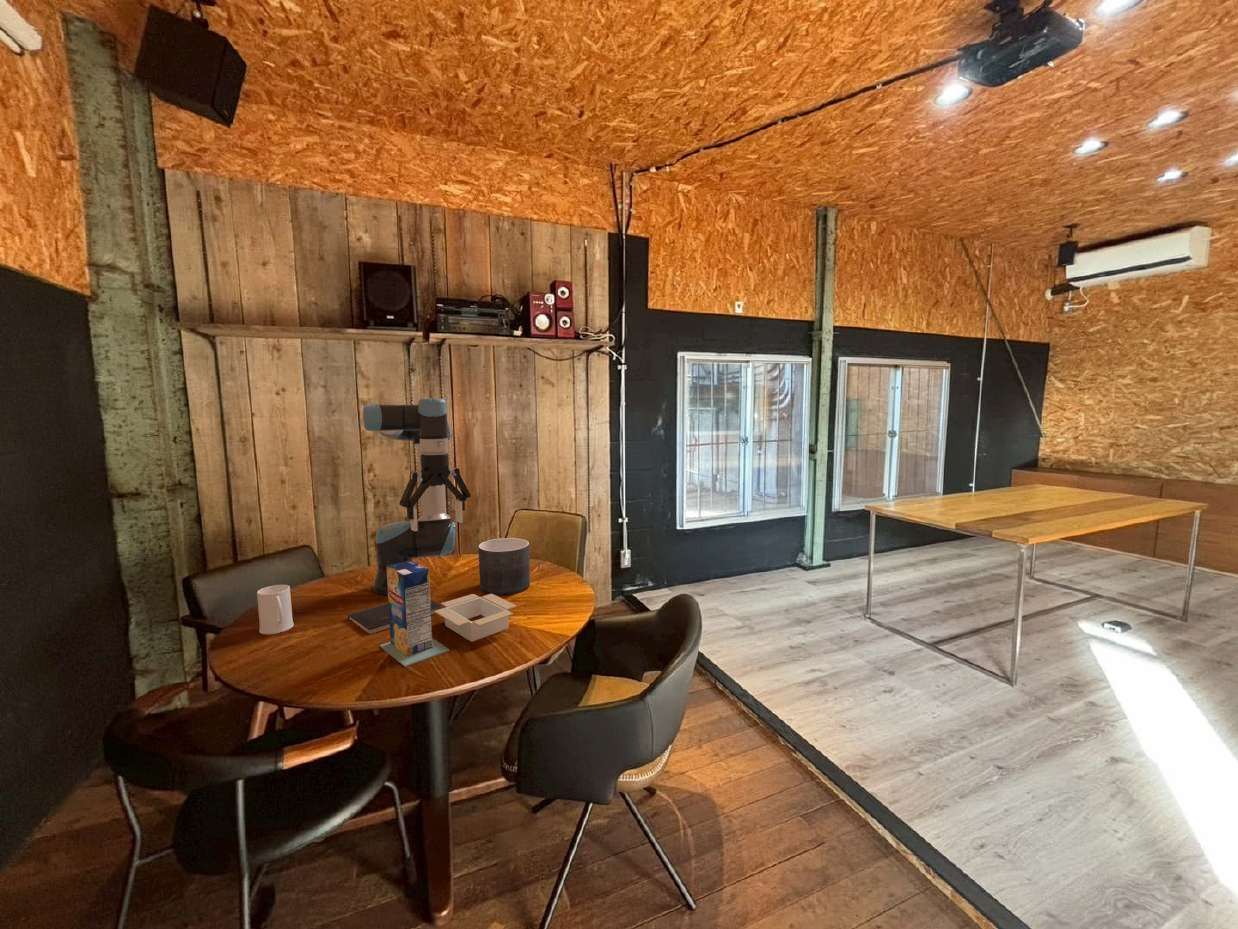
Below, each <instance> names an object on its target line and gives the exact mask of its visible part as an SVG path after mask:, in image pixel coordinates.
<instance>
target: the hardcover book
mask: <svg viewBox="0 0 1238 929" xmlns="http://www.w3.org/2000/svg"><path fill="white" fill-rule="evenodd" d="M430 601H431V616H432V615H434V614H435V615H436V613H435V612H434V611H436V610H439V609H442V608H444V606H443V605H441V603H438V602H436V601H434V600H432V599H430ZM347 617H348V618H347V620H348V619H349V620H350V621H351V620H352V621H353V622H352V621H351V622H352V623H354V624H355V625H356V626H358V627H359V626H360V627H359V628H361V629H362V630H363V631H365V632H366V633H367V634H368V635H372V634H375V633H378V632H382V631H384V630H387V629H390V621H389V602H388V603H384V604H380V605H377V606H374V607H370V608H367V609H363V610H360V611H357V612H353V613H350V614H348V615H347Z"/></svg>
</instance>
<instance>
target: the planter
mask: <svg viewBox="0 0 1238 929" xmlns="http://www.w3.org/2000/svg"><path fill="white" fill-rule="evenodd" d="M478 565H479V568H478V570H479V590H480V591H481V592H482V593H484V594H486V595H489V594H493V595H496V596H508V595H514V594H518V593H521V592H523V591H525V590H527V589H528V588H530V585H531V582H530V574H531V573H530V571H531V570H530V542H529V541H528V540H526V539H522V538H516V537H502V538H494V539H489V540H486V541H483V542H481V543H479V545H478Z"/></svg>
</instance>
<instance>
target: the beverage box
mask: <svg viewBox="0 0 1238 929" xmlns="http://www.w3.org/2000/svg"><path fill="white" fill-rule="evenodd" d="M430 580H431V579H430V568H428V567H426V566H424V565H423V564H419V563H418V562H415V561H414V560H413V561H406V562H402V563H397V564H393V565H388V566H387V584H388V595H387V598H388V600H387V602H388V603H389V621H390V628H389V634H390V635H389V636H390V642H391V644H393V645H394V646H395V647H396V648H398V649H399V650H400V651H401V652H403V653H404V654H405V655H406V656H410V655H413V654H416V653H419V652H422V651H424V650H427V649H430V648H433V646H432V638H433V630H432V628H433V626H432V615H431V601H430V600H431V585H430V584H431V581H430Z"/></svg>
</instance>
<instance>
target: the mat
mask: <svg viewBox="0 0 1238 929" xmlns="http://www.w3.org/2000/svg"><path fill="white" fill-rule="evenodd" d="M379 646H380V648H381V649H383V650H384V651H385V652H386V653H387V654H388V655H390V656H391V657H392V658H393V659H394V660H396V661H397V662H398V663H400V665H401V666H403V667H404V668H407V667H409V666H412V665H414V664H417V663H420V662H423V661H425V660H428V659H431V658H434V657H436V656H439V655H442V654H445V653H447V652H450V649H449V648H448V647H447V646H445V645H444V644H442V643H440V642H439V641H437V640H436V639H435V638H433V637H432V646H433V648H430V649H427V650H424V651H422V652H419V653H416V654H413V655H410V656H406V655H405V654H404V653H403V652H401V651H400V650H399V649H398V648H396V647H395V646H394V645H393V644H391V641H388V642H386V643H382V644H379Z"/></svg>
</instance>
